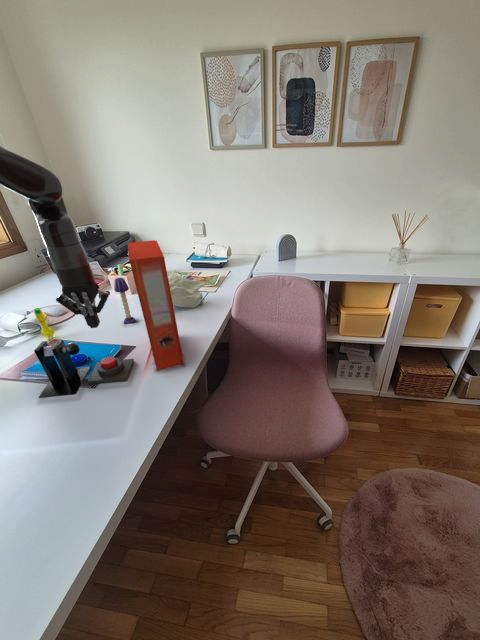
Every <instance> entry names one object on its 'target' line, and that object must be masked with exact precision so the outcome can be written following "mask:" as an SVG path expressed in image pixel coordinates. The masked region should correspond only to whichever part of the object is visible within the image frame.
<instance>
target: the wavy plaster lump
mask: <svg viewBox="0 0 480 640" xmlns="http://www.w3.org/2000/svg"><path fill="white" fill-rule="evenodd" d="M168 281H169V286H170V292H171V297H172V302H173V306H177V307H180V308H191V309H194V308H197V307H198V306H200V304H201V302H202V300H203V292H201V291H199V290H200V289H201V288H203V287H204V286H205V284H206V283H205V282H204V281H201V280H198V279H197V278H194V279H192V280H191V279H188V278H186V277H184V276H179V275H171V276H169V277H168Z"/></svg>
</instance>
